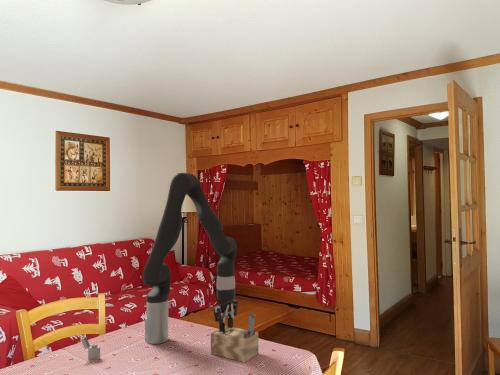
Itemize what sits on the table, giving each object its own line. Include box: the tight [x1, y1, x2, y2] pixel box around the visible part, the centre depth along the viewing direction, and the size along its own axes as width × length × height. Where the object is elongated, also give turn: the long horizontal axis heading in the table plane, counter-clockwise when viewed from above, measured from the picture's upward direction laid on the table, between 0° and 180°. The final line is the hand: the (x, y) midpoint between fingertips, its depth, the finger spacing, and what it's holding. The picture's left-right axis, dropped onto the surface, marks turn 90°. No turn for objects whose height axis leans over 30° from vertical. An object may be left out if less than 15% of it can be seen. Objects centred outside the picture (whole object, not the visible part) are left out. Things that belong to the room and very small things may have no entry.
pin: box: [221, 325, 230, 334], centre depth 152 cm, size 3×3×10 cm
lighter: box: [80, 336, 101, 360], centre depth 147 cm, size 7×2×8 cm, turn 85°
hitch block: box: [210, 325, 260, 363], centre depth 150 cm, size 16×10×10 cm, turn 57°
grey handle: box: [247, 313, 257, 336], centre depth 146 cm, size 8×4×1 cm
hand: (226, 329), depth 152 cm, fingers open, 4 cm apart
